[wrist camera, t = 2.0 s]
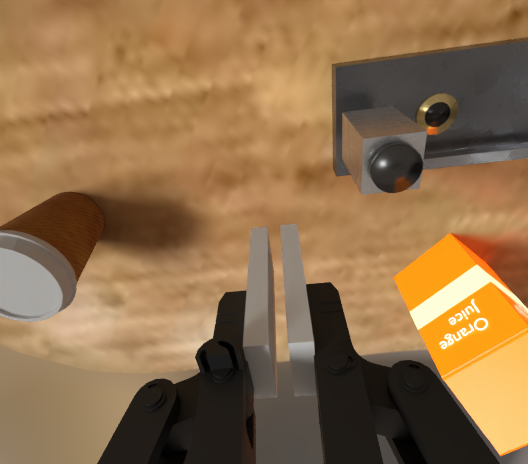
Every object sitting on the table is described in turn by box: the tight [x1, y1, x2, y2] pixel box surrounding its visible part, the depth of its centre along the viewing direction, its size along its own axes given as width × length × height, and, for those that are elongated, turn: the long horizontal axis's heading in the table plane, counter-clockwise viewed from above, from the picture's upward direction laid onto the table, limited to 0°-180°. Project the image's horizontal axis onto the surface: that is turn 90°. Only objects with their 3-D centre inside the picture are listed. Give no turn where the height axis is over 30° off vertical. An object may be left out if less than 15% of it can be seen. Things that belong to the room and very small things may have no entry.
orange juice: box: [394, 234, 528, 456], centre depth 34 cm, size 8×9×20 cm
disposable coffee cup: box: [0, 192, 105, 322], centre depth 34 cm, size 10×10×12 cm
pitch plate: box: [332, 38, 528, 176], centre depth 26 cm, size 28×10×13 cm, turn 97°
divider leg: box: [342, 106, 427, 195], centre depth 26 cm, size 4×4×10 cm
